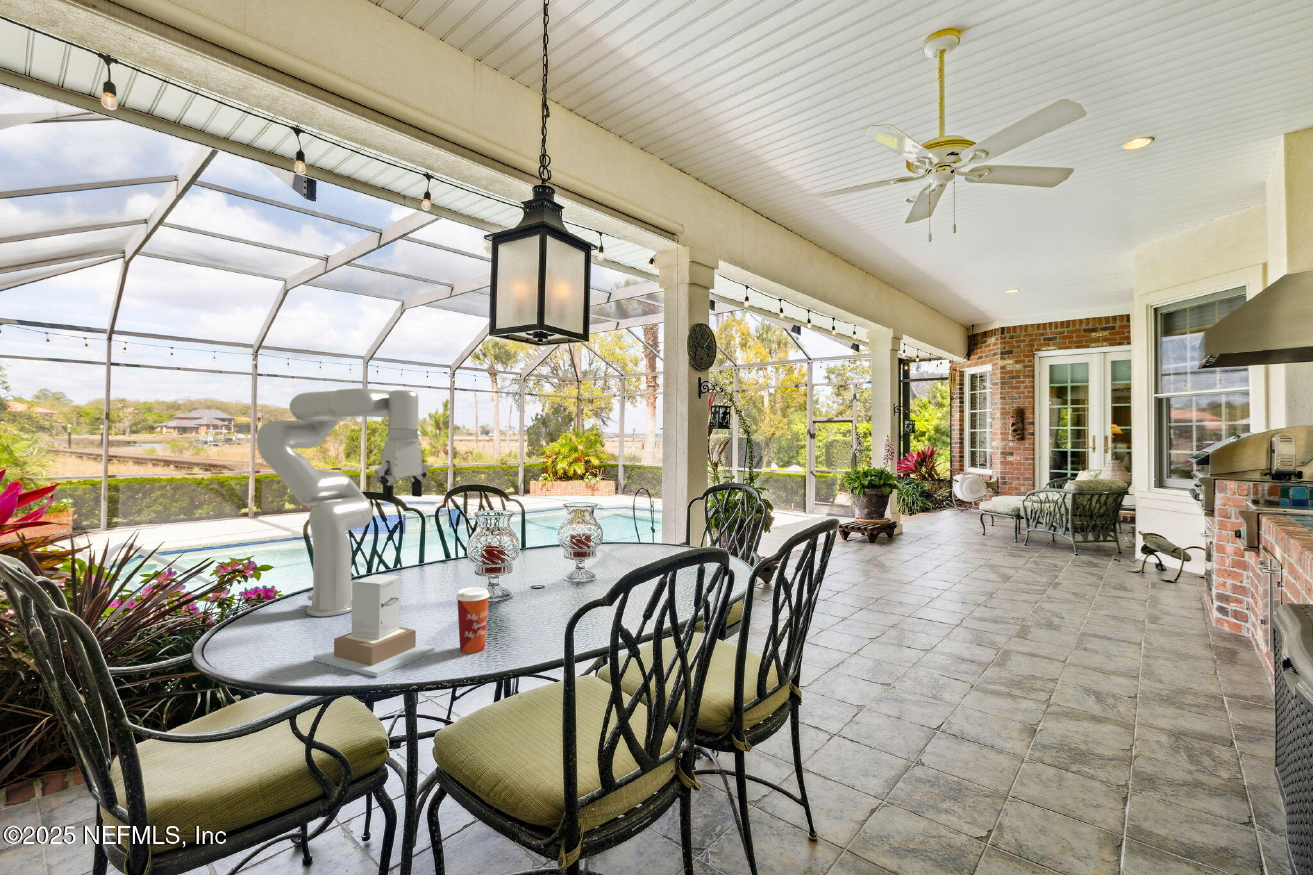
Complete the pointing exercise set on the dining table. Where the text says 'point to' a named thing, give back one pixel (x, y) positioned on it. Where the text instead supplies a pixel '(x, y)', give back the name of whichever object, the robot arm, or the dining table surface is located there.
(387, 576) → the supplement box
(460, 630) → the paper cup
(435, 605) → the dining table surface
